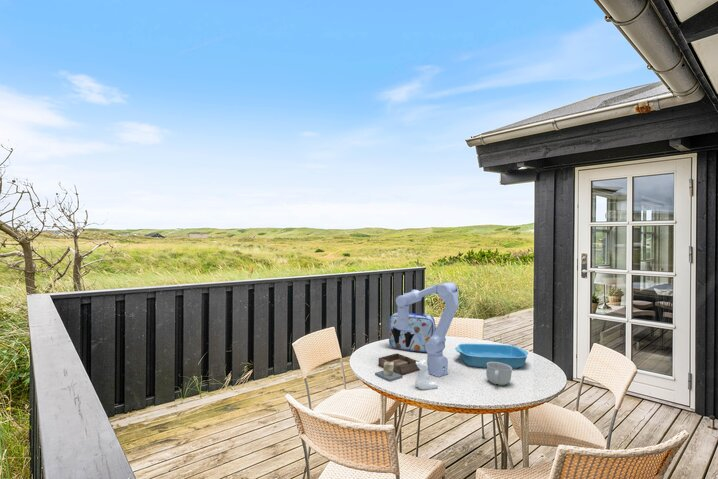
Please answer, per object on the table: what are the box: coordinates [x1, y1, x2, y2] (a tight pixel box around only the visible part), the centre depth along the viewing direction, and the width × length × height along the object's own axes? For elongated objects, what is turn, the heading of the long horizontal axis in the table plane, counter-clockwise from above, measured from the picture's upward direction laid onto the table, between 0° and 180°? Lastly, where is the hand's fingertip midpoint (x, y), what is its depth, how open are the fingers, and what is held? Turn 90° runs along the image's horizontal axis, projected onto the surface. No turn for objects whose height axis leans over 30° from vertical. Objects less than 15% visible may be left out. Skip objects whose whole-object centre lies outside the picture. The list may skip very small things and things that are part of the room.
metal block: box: [383, 362, 394, 376], centre depth 172 cm, size 4×4×5 cm
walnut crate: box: [378, 352, 420, 376], centre depth 183 cm, size 16×13×4 cm
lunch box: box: [388, 311, 437, 353], centre depth 214 cm, size 28×10×22 cm, turn 73°
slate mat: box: [374, 369, 403, 383], centre depth 172 cm, size 10×8×1 cm
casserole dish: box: [454, 343, 529, 369], centre depth 195 cm, size 37×22×7 cm, turn 88°
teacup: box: [485, 362, 513, 386], centre depth 166 cm, size 14×11×8 cm
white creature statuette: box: [415, 359, 439, 391], centre depth 160 cm, size 10×9×12 cm
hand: (402, 345), depth 190 cm, fingers open, 7 cm apart
